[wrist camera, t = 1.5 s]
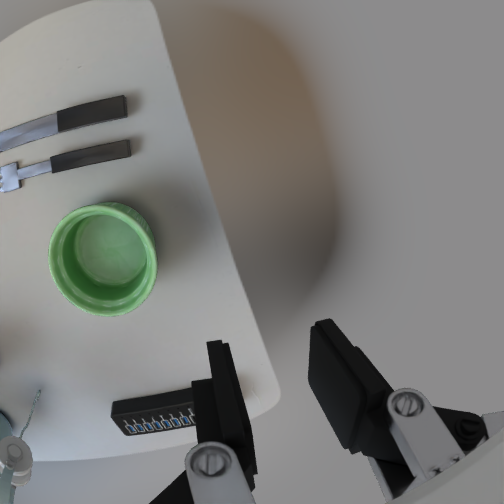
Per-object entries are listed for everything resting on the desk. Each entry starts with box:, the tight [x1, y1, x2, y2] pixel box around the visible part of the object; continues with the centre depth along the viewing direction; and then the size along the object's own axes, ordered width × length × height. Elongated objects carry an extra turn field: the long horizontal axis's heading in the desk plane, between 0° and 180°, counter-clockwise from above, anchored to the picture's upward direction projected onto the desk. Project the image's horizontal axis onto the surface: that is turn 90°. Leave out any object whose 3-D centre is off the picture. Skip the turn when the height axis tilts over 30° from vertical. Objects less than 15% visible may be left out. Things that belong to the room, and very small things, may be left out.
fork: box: [0, 140, 131, 193], centre depth 21 cm, size 2×15×1 cm, turn 94°
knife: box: [0, 95, 127, 152], centre depth 19 cm, size 2×14×1 cm, turn 94°
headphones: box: [0, 390, 40, 504], centre depth 19 cm, size 8×4×20 cm, turn 146°
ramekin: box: [48, 202, 158, 317], centre depth 23 cm, size 9×9×4 cm
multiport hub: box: [111, 388, 196, 436], centre depth 31 cm, size 4×14×2 cm, turn 101°
